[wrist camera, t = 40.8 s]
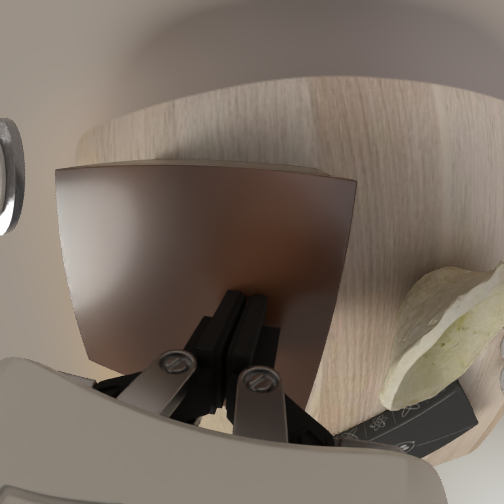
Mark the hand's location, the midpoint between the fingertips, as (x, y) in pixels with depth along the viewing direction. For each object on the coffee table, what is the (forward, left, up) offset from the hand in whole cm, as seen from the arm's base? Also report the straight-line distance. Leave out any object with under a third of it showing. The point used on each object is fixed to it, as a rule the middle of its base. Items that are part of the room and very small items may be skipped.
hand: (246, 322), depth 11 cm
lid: (-4, 0, -1) cm, 4 cm away
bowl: (+16, -4, -12) cm, 20 cm away
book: (+21, -25, -12) cm, 35 cm away
